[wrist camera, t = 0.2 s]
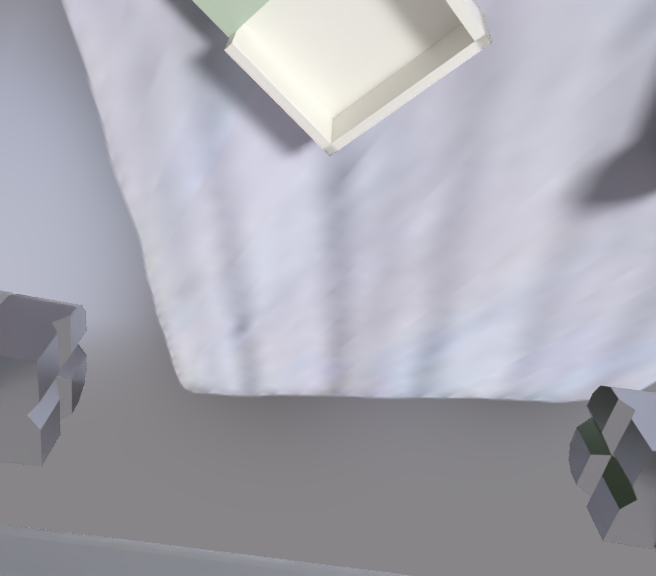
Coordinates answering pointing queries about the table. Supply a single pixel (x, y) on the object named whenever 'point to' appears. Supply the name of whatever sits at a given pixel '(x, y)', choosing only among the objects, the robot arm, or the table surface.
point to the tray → (353, 57)
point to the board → (230, 12)
